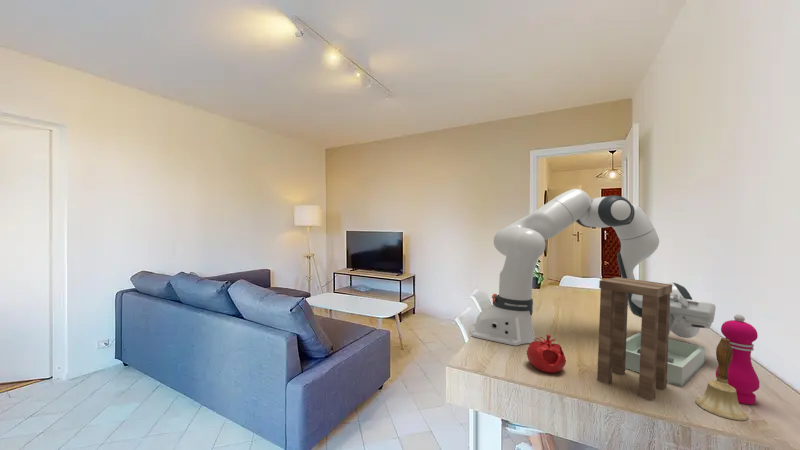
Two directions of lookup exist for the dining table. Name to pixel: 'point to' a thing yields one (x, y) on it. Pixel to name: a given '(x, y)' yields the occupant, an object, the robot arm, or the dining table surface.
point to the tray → (683, 354)
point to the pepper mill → (741, 359)
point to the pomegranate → (546, 355)
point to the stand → (651, 331)
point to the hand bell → (722, 388)
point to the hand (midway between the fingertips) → (665, 295)
